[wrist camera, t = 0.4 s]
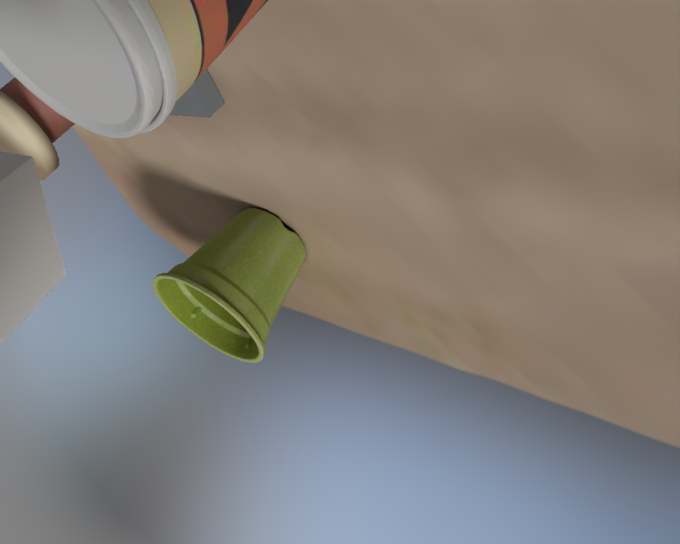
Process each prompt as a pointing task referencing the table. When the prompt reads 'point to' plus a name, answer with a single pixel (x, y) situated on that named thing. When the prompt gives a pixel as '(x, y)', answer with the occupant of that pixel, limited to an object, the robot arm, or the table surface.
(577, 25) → the table surface
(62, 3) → the coffee cup
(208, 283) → the plant pot
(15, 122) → the wooden bobbin
